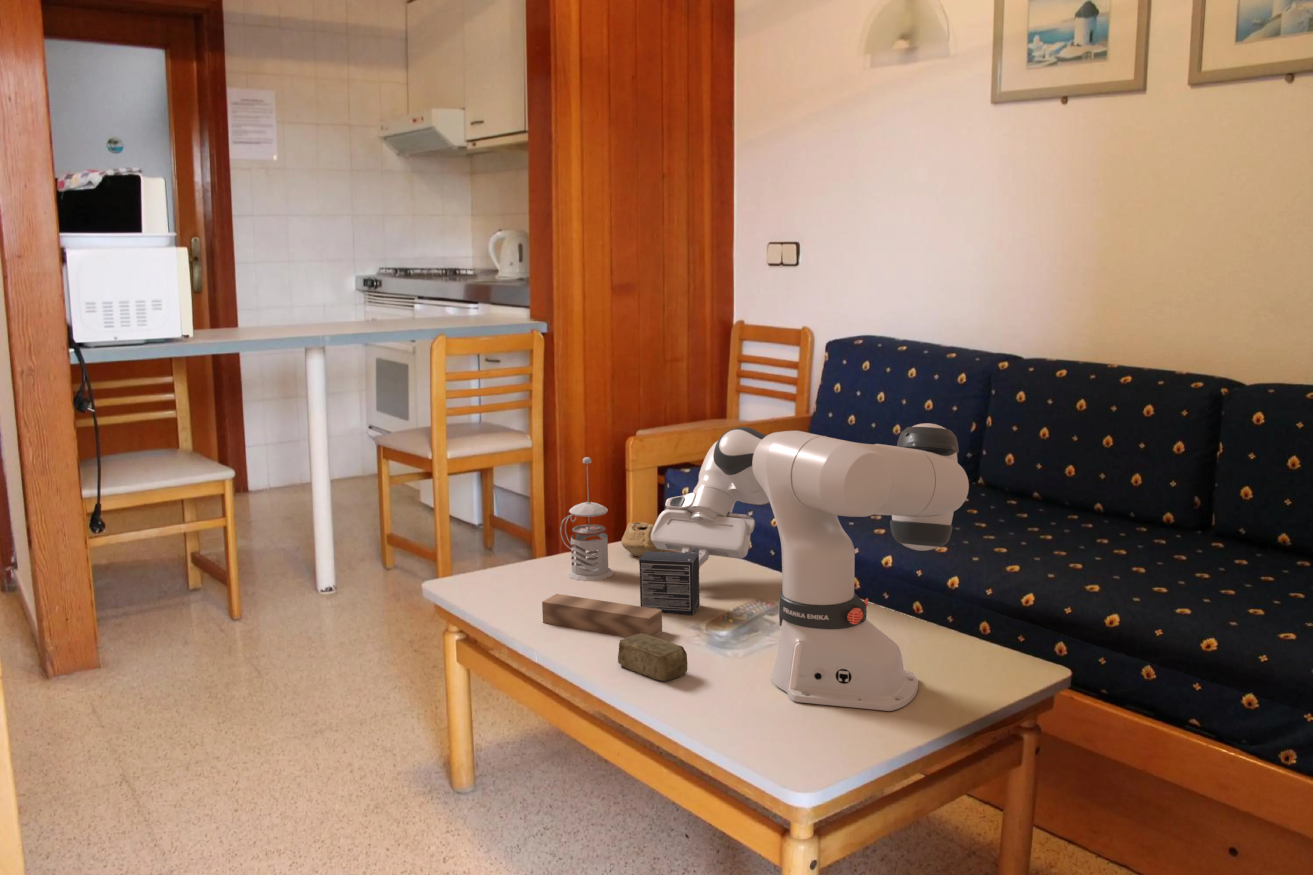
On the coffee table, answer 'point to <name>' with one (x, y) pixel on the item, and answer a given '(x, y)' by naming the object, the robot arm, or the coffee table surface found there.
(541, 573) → the coffee table surface
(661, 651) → the stone block
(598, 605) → the batten
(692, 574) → the small box
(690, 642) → the coffee table surface
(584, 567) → the french press
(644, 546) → the oil lamp
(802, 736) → the coffee table surface
